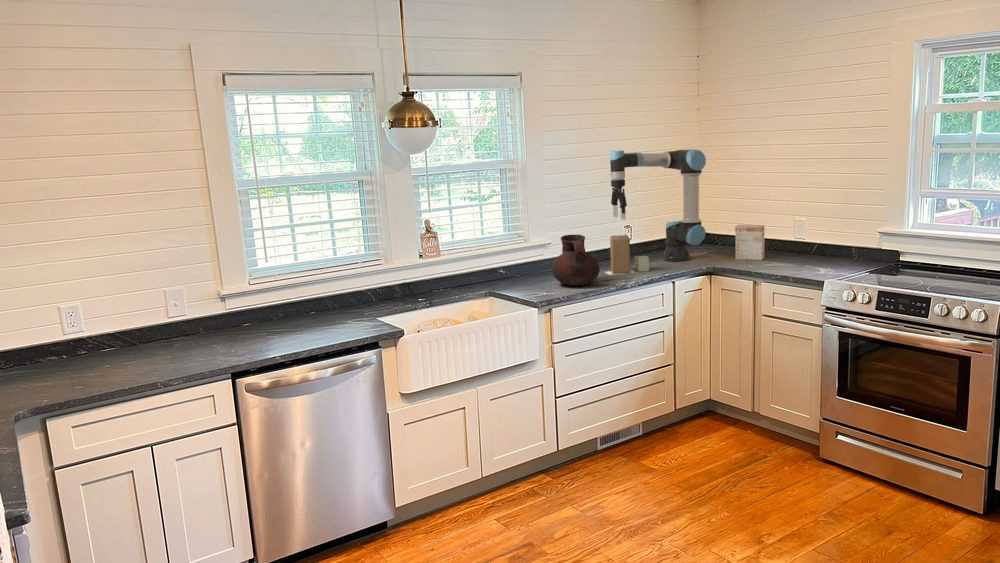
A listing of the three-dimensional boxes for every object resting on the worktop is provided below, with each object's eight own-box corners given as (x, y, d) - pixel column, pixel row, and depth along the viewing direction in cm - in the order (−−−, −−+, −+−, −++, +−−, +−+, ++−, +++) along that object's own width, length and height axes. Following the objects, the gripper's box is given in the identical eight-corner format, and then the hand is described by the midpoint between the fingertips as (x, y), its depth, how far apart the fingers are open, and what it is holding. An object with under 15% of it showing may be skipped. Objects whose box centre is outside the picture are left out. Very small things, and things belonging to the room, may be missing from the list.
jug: (552, 290, 375) (550, 241, 371) (551, 281, 400) (549, 235, 395) (602, 287, 374) (600, 238, 369) (598, 278, 399) (596, 232, 394)
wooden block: (629, 270, 416) (627, 234, 412) (630, 273, 406) (629, 237, 403) (611, 270, 417) (609, 235, 413) (612, 274, 407) (611, 238, 403)
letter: (631, 269, 418) (631, 269, 418) (637, 273, 407) (637, 272, 407) (604, 272, 416) (603, 271, 416) (609, 275, 405) (609, 275, 405)
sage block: (645, 269, 417) (644, 255, 415) (649, 271, 411) (648, 257, 409) (635, 270, 416) (634, 256, 414) (638, 272, 410) (638, 258, 408)
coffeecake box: (764, 258, 429) (764, 224, 425) (761, 260, 423) (762, 226, 419) (738, 257, 436) (738, 224, 433) (735, 259, 430) (735, 226, 427)
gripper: (604, 178, 414) (606, 216, 418) (618, 180, 390) (619, 220, 393) (617, 177, 415) (618, 215, 419) (632, 179, 391) (633, 219, 394)
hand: (619, 218), depth 406 cm, fingers open, 13 cm apart
